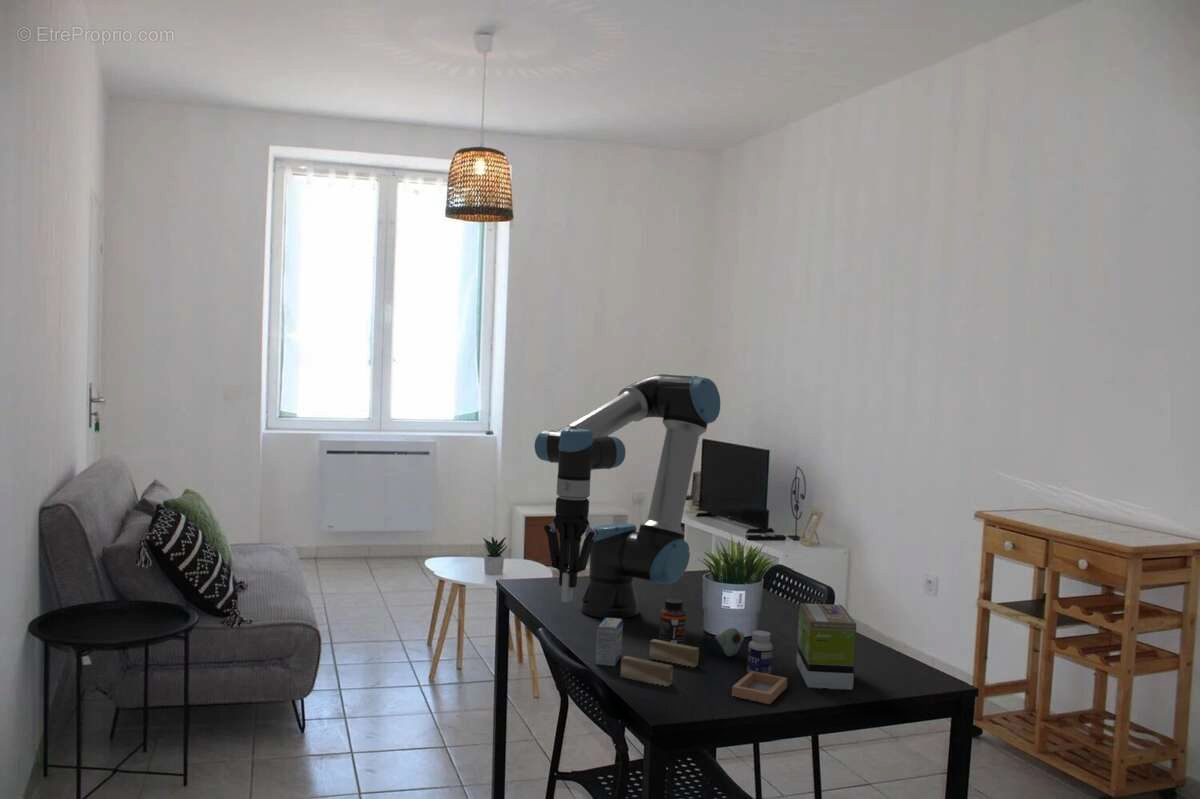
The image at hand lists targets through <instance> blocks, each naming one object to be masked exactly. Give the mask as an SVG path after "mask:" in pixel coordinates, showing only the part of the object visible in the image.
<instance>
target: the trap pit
mask: <svg viewBox="0 0 1200 799" xmlns="http://www.w3.org/2000/svg"><path fill="white" fill-rule="evenodd" d="M787 686H788V677H784V676H779V675H774V674H765V673H760V672H754V671H750V672H747V673H746V674H745V675H744V676H743V677H742V678H740V679H739V680H738V681H737V682H736V683H735V684H734V685H733V686H732V687H731V688H732V689H731V697H733V696H735V697H734V698H738V697H739V699H744V700H747V699H748V700H749V701H753V702H757V701H758V702H757V703H762V704H766V705H770V704H772V702H774V700H776V699H777V698H778V696H780V694H781V693H783V692H784V691H785V690H786V689H787V688H788V687H787ZM748 700H747V701H748Z"/></svg>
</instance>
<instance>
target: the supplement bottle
mask: <svg viewBox="0 0 1200 799" xmlns="http://www.w3.org/2000/svg"><path fill="white" fill-rule="evenodd" d="M686 616H687V613H686V611H685V610H684V608H683V600H681V599H678V598H665V604H664V607H663V608H662V609H661V610H660V617H659V632H658V633H659V634H658V635H659V636H658V640H661V641H666V642H671V643H676V644H682V645H685V632H686V622H687V621H686V619H687V617H686Z"/></svg>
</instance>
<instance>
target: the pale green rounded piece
mask: <svg viewBox="0 0 1200 799" xmlns="http://www.w3.org/2000/svg"><path fill="white" fill-rule="evenodd" d="M745 638H746V637H745V633H743V632H741V631H739V629H737V628H733V627H732V628H728V629H726V630H724V631H723V632H721V633H720V634H717V635H716V636H714V639H715V640H716V641H717V642H718V643H719V645H720V646H721V647H722V650H723V652H724V654H725V655H726V656H727V657H733V656H734V655H736V654H737V652H738V651H739V649H740V647H741V644H742V642H743V641H744V639H745Z"/></svg>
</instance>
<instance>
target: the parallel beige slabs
mask: <svg viewBox="0 0 1200 799" xmlns="http://www.w3.org/2000/svg"><path fill="white" fill-rule="evenodd" d="M699 652H700V648H699V647H696V646H691V645H687V644H684V645H682V644H676V643H671V642H666V641H661V640H659V639H654V638H653V639H651V640H650V641H649V652H648V653H649V655H648V657H649V658H650V659H649V658H648V659H649V660H647V659H643V658H638V657H633V656H628V655H624V656H623V657H620V659H621V660H620V678H624V679H629V680H634V681H638V682H642V681H643V683H648V684H652V683H653V685H656V684H659V685H658V686H661V685H664V686H663V687H666V686H669V685H670V686H672V685H673V673H674V669H673V668H674V664H673V663H677V664H676V665H678V664H682V665H681V666H683V665H686V666H685V667H688V666H692V667H691V668H693V667H695V668H696V666H697V665H698V666H699V655H700V654H699ZM653 659H656V660H655V661H654V660H653ZM652 660H653V661H652ZM658 660H661V661H660V662H659V661H658ZM657 661H658V662H657ZM663 661H666V662H665V663H663ZM668 662H672V663H671V664H673V665H671V664H667V663H668ZM698 666H697V667H698ZM671 684H672V685H671ZM670 686H669V687H670Z"/></svg>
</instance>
